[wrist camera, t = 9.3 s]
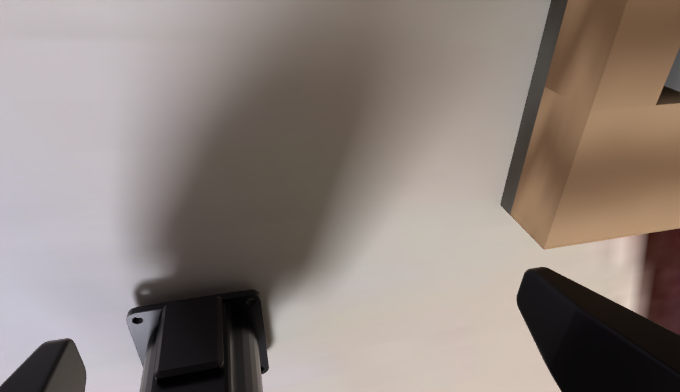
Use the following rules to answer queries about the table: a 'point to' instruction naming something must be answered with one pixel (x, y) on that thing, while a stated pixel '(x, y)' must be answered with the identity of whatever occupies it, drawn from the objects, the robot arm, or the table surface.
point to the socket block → (600, 125)
